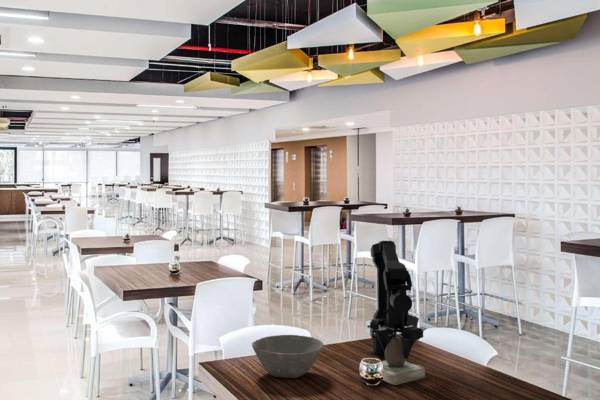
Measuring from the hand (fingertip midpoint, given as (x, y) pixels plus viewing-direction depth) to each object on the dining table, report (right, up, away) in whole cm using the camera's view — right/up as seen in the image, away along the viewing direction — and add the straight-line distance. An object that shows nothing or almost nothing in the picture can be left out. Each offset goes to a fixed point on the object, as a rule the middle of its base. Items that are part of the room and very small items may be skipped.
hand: (395, 355), depth 178 cm
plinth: (0, -7, 0) cm, 6 cm away
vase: (0, -4, 0) cm, 4 cm away
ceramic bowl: (-34, -7, +1) cm, 35 cm away
